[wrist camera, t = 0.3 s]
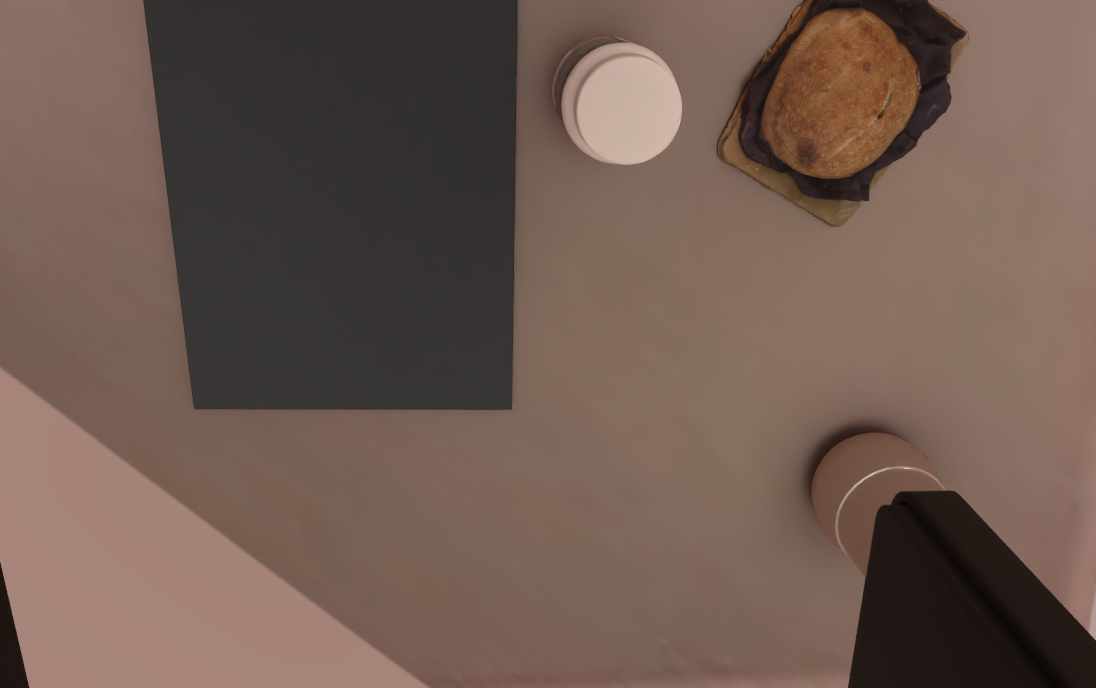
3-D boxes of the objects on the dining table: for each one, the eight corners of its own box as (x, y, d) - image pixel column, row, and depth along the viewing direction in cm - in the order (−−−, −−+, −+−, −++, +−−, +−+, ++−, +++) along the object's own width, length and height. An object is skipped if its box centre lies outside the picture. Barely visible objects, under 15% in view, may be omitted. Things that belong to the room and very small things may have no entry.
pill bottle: (540, 127, 42) (550, 159, 35) (566, 23, 41) (583, 31, 33) (638, 152, 43) (669, 189, 35) (667, 50, 41) (707, 65, 34)
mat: (144, -17, 39) (141, -18, 39) (517, -7, 40) (517, -7, 40) (196, 406, 46) (193, 409, 46) (511, 406, 47) (511, 409, 47)
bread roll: (839, 233, 45) (867, 254, 42) (700, 145, 43) (718, 159, 40) (981, 39, 42) (1024, 45, 39) (838, -66, 40) (871, -70, 37)
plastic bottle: (909, 404, 49) (1167, 663, 30) (923, 510, 51) (1168, 809, 33) (791, 435, 49) (973, 709, 30) (809, 538, 51) (989, 851, 33)
